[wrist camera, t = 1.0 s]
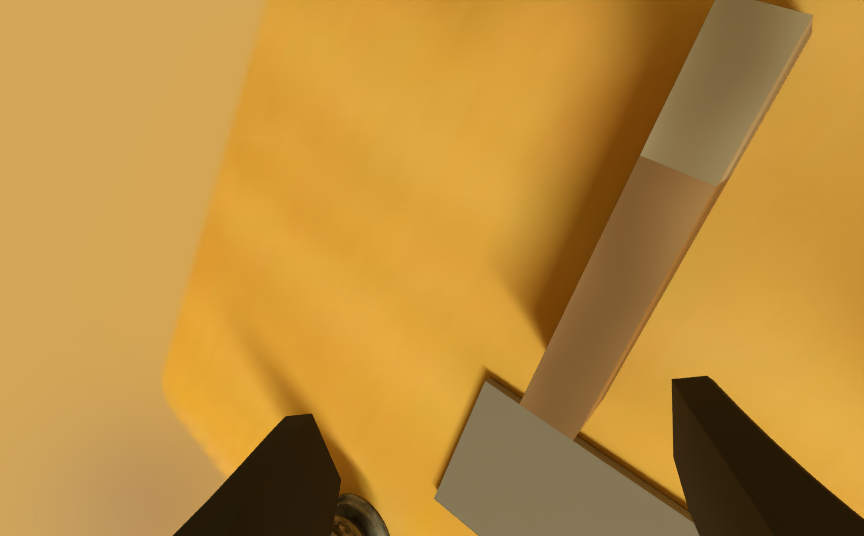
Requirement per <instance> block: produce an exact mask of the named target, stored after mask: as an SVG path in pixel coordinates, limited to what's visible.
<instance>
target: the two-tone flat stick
mask: <svg viewBox="0 0 864 536" xmlns="http://www.w3.org/2000/svg"><path fill="white" fill-rule="evenodd" d="M812 17H813V15H811V14H807V13H803V12H799V11H795V10H792V9H788V8H784V7H780V6H776V5H773V4H769V3H765V2H761V1H757V0H715V1H714V3H713V5H712V7H711V9H710V11H709V13H708V15H707V17H706V19H705V22H704V24H703V26H702V28H701V30H700V32H699V34H698V36H697V38H696V40H695V42H694V44H693V46H692V48H691V50H690V53H689V55H688V57H687V59H686V61H685V63H684V65H683V67H682V69H681V71H680V73H679V75H678V77H677V79H676V82H675V84H674V86H673V88H672V90H671V92H670V94H669V96H668V98H667V100H666V102H665V104H664V106H663V108H662V111H661V113H660V115H659V117H658V119H657V121H656V123H655V125H654V127H653V129H652V131H651V133H650V135H649V137H648V139H647V142H646V144H645V146H644V148H643V150H642V152H641V154H640V156H639V158H638V160H637V162H636V164H635V166H634V168H633V171H632V173H631V175H630V177H629V179H628V181H627V183H626V185H625V187H624V189H623V191H622V193H621V195H620V197H619V200H618V202H617V204H616V206H615V208H614V210H613V212H612V214H611V216H610V218H609V220H608V222H607V224H606V226H605V228H604V231H603V233H602V235H601V237H600V239H599V241H598V243H597V245H596V247H595V249H594V251H593V253H592V255H591V257H590V260H589V262H588V264H587V266H586V268H585V270H584V272H583V274H582V276H581V278H580V280H579V282H578V284H577V286H576V289H575V291H574V293H573V295H572V297H571V299H570V301H569V303H568V305H567V307H566V309H565V311H564V313H563V315H562V317H561V320H560V322H559V324H558V326H557V328H556V330H555V332H554V334H553V336H552V338H551V340H550V342H549V344H548V346H547V349H546V351H545V353H544V355H543V357H542V359H541V361H540V363H539V365H538V367H537V369H536V371H535V373H534V375H533V378H532V380H531V382H530V384H529V386H528V388H527V390H526V392H525V394H524V396H523V398H522V400H521V402H520V405H521V406H523V407H524V408H525V409H527V410H528V411H530V412H531V413H533V414H534V415H536V416H537V417H539V418H540V419H542V420H543V421H544V422H546V423H547V424H549V425H550V426H552V427H553V428H555V429H556V430H558V431H559V432H561V433H562V434H563V435H565V436H566V437H568V438H569V439H571V440H572V441H573V440H574V438H575V437H576V436H577V434H578V433H579V431H580V430H581V429H582V427H583V426H584V425H585V423H586V422H587V420H588V419H589V418H590V416H591V415H592V414H593V412H594V411H595V409H596V408H597V407H598V405H599V404H600V403H601V401H602V400H603V398H604V397H605V395H606V393H607V391H608V390H609V388H610V386H611V384H612V383H613V381H614V379H615V377H616V376H617V374H618V372H619V370H620V369H621V367H622V365H623V363H624V362H625V360H626V358H627V356H628V355H629V353H630V351H631V349H632V348H633V346H634V344H635V342H636V341H637V339H638V337H639V335H640V334H641V332H642V330H643V328H644V327H645V325H646V323H647V321H648V320H649V318H650V316H651V314H652V313H653V311H654V309H655V307H656V306H657V304H658V302H659V300H660V299H661V297H662V295H663V293H664V292H665V290H666V288H667V286H668V285H669V283H670V281H671V279H672V278H673V276H674V274H675V272H676V271H677V269H678V267H679V265H680V264H681V262H682V260H683V258H684V257H685V255H686V253H687V251H688V250H689V248H690V246H691V244H692V242H693V241H694V239H695V237H696V235H697V234H698V232H699V230H700V228H701V227H702V225H703V223H704V221H705V220H706V218H707V216H708V214H709V213H710V211H711V209H712V207H713V206H714V204H715V202H716V200H717V199H718V197H719V195H720V193H721V192H722V190H723V188H724V186H725V185H726V183H727V181H728V179H729V178H730V176H731V174H732V172H733V171H734V169H735V167H736V165H737V164H738V162H739V160H740V158H741V157H742V155H743V153H744V151H745V150H746V148H747V146H748V144H749V143H750V141H751V139H752V137H753V136H754V134H755V132H756V130H757V129H758V127H759V125H760V123H761V122H762V120H763V118H764V116H765V115H766V113H767V111H768V109H769V108H770V106H771V104H772V102H773V101H774V99H775V97H776V95H777V94H778V92H779V90H780V88H781V87H782V85H783V83H784V81H785V80H786V78H787V76H788V74H789V73H790V71H791V69H792V67H793V66H794V64H795V62H796V60H797V59H798V57H799V55H800V53H801V52H802V50H803V48H804V46H805V45H806V43H807V41H808V39H809V38H810V36H811V34H812Z"/></svg>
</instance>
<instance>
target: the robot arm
mask: <svg viewBox="0 0 864 536" xmlns="http://www.w3.org/2000/svg"><path fill="white" fill-rule="evenodd" d="M672 412H673V457H674V461H675V464H676V468H677V471H678V475H679V478H680V482H681V485H682V488H683V492H684V495H685V498H686V502H687V505H688V508H689V512H690V514H691V517H692V519H693V521H694V524H695V526H696V529H697V531H698V534H699V536H864V519H863V518H862V517H861V516H859V515H858V514H857V513H856V512H855V511H853V510H852V509H851V508H850V507H849V506H847V505H846V504H845V503H844V502H842V501H841V500H840V499H839V498H838V497H836V496H835V495H834V494H833V493H832V492H830V491H829V490H828V489H827V488H826V487H825V486H823V485H822V484H821V483H820V482H819V481H818V480H816V479H815V478H814V477H813V476H812V475H811V474H810V473H808V472H807V471H806V470H805V469H804V468H803V467H802V466H801V465H800V464H799V463H797V462H796V461H795V460H794V459H793V458H792V457H791V456H790V455H789V454H787V453H786V452H785V451H784V450H783V449H782V448H781V447H780V446H779V445H778V444H776V443H775V442H774V441H773V440H772V439H771V438H770V437H769V436H768V435H767V434H766V433H765V432H764V431H763V430H762V429H761V428H760V427H759V426H758V425H757V424H756V423H755V422H754V421H753V420H752V419H751V418H749V417H748V416H747V415H746V414H745V413H744V412H743V411H742V410H741V409H740V408H739V407H738V406H737V404H736V403H735V402H734V401H733V400H732V399H731V398H730V397H729V396H728V395H727V394H726V393H725V392H724V391H723V390H722V389H721V388H720V387H719V386H718V385H717V384H716V383H715V382H714V380H712V379H711V378H709V377H708V376H700V377H690V378H680V379H672ZM340 483H341V479H340V476H339V474H338V472H337V470H336V467H335V465H334V463H333V461H332V458H331V456H330V454H329V451H328V449H327V447H326V445H325V442H324V440H323V438H322V436H321V433H320V431H319V429H318V426H317V424H316V422H315V420H314V417H313V415H312V414H304V415H294V416H286V417H285V418H284V419H283V420H282V421H281V422H280V423H279V424H278V425H277V426H276V427H275V428H274V429H273V430H272V431H271V432H270V433H269V434H268V435H267V436H266V438H265V439H264V440H263V441H262V442H261V443H260V444H259V445H258V446H257V447H256V449H255V450H254V451H253V452H252V453H251V454H250V455H249V456H248V457H247V458H246V460H245V461H244V462H243V463H242V464H241V465H240V466H239V467H238V468H237V469H236V471H235V472H234V473H233V474H232V475H231V476H230V477H229V478H228V479H227V480H226V481H225V482H224V484H223V485H222V486H221V487H220V488H219V489H218V490H217V491H216V492H215V493H214V494H213V495H212V496H211V498H210V499H209V500H208V501H207V502H206V503H205V504H204V505H203V506H202V507H201V508H200V509H199V510H198V511H197V512H196V513H195V514H194V515H193V516H192V517H191V518H190V519H189V520H188V521H187V522H186V523H185V524H184V525H183V526H182V527H181V528H180V529H179V530H178V531H177V532H176V533H175V534H174V535H173V536H331V533H332V529H333V524H334V519H335V514H336V508H337V502H338V496H339V489H340Z"/></svg>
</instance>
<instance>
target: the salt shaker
mask: <svg viewBox="0 0 864 536" xmlns="http://www.w3.org/2000/svg"><path fill="white" fill-rule="evenodd" d="M331 536H389V532H388V530H387V527H386V525H385V523H384V521H383V520H382V518H381V516H380V515H379V514H378V512H377V511H376V510H375V509H374V508H373V506H371V505H370V504H369V503H368V502H367V501H365V500H364V499H362V498H360V497H359V496H357V495H353V494H342V495H340V496H339V497H338V502H337V508H336V514H335V519H334V524H333V529H332V533H331Z"/></svg>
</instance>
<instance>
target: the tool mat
mask: <svg viewBox="0 0 864 536" xmlns="http://www.w3.org/2000/svg"><path fill="white" fill-rule="evenodd" d="M521 400H522V399H521V398H520V397H518V396H517V395H515V394H514V393H512V392H511V391H509V390H508V389H506V388H505V387H504V386H502V385H501V384H499V383H498V382H496V381H495V380H493V379H492V378H490V377H489V378H488V379H487V380H486V381H485V383H484V385H483V387H482V389H481V392H480V394H479V396H478V399H477V401H476V403H475V406H474V408H473V410H472V412H471V415H470V417H469V419H468V422H467V424H466V426H465V429H464V431H463V433H462V435H461V438H460V440H459V442H458V445H457V447H456V449H455V452H454V454H453V456H452V458H451V461H450V463H449V465H448V468H447V470H446V472H445V475H444V477H443V479H442V481H441V484H440V486H439V488H438V491H437V493H436V495H435V498H434V499H435V500H436V501H437V502H439V503H440V504H441V505H442V506H443V507H445V508H446V509H447V510H448V511H449V512H451V513H452V514H453V515H454V516H455V517H457V518H458V519H459V520H460V521H461V522H463V523H464V524H465V525H466V526H467V527H469V528H470V529H471V530H472V531H473V532H475V533H476V534H477V535H478V536H699V534H698V531H697V529H696V526H695V524H694V521H693V519H692V517H691V514H690V512H689V511H687V510H686V509H684V508H683V507H681V506H680V505H678V504H677V503H675V502H674V501H672V500H671V499H669V498H668V497H667V496H665V495H664V494H662V493H661V492H659V491H658V490H656V489H655V488H653V487H652V486H650V485H649V484H647V483H646V482H644V481H643V480H641V479H640V478H638V477H637V476H635V475H634V474H632V473H631V472H629V471H628V470H627V469H625V468H624V467H622V466H621V465H619V464H618V463H616V462H615V461H613V460H612V459H610V458H609V457H607V456H606V455H604V454H603V453H601V452H600V451H598V450H597V449H595V448H594V447H592V446H591V445H589V444H588V443H587V442H585V441H584V440H582V439H581V438H579V437H578V436H576V437H575V438H574V440H573V441H572V440H571V439H569V438H568V437H566V436H565V435H563V434H562V433H561V432H559V431H558V430H556V429H555V428H553V427H552V426H550V425H549V424H547V423H546V422H544V421H543V420H542V419H540V418H539V417H537V416H536V415H534V414H533V413H531V412H530V411H528V410H527V409H525V408H524V407H523V406H521V405H520V402H521Z"/></svg>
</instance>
